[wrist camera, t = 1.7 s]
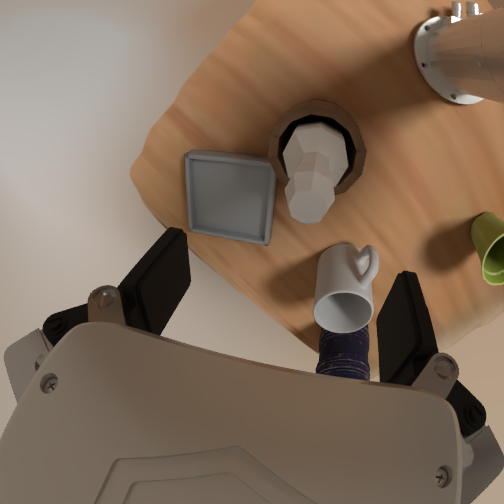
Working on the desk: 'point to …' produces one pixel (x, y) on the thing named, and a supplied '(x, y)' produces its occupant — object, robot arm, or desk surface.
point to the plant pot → (489, 246)
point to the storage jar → (344, 354)
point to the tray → (230, 195)
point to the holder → (321, 108)
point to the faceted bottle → (313, 169)
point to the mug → (345, 287)
